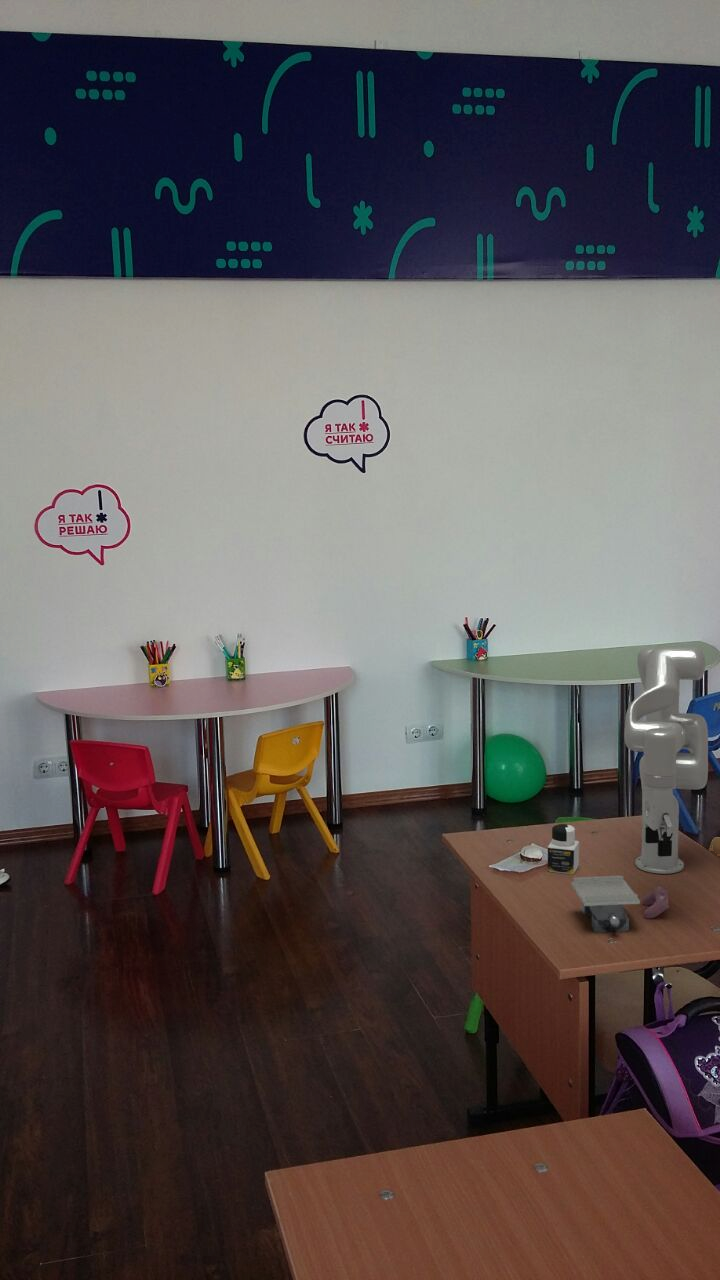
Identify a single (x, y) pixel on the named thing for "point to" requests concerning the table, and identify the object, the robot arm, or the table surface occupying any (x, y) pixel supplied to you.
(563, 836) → the medicine bottle
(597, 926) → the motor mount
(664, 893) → the video game controller
